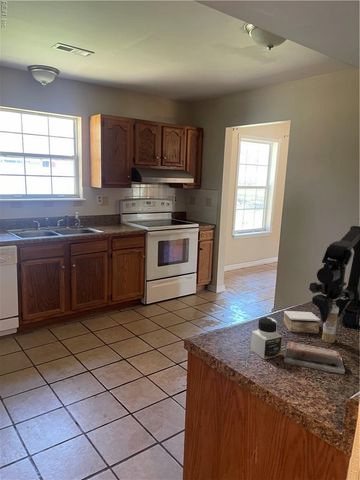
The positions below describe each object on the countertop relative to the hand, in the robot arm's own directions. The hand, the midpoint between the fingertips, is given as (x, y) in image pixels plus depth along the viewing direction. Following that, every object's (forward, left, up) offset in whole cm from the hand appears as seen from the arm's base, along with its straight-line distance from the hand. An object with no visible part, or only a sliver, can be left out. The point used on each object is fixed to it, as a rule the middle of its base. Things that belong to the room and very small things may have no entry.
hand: (330, 319), depth 127 cm
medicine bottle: (+26, +12, -9) cm, 30 cm away
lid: (+7, -11, -4) cm, 13 cm away
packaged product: (+11, +16, -9) cm, 21 cm away
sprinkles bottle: (0, 0, -9) cm, 9 cm away
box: (+7, -11, -8) cm, 15 cm away
